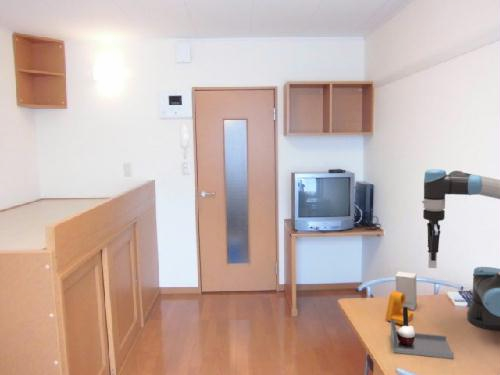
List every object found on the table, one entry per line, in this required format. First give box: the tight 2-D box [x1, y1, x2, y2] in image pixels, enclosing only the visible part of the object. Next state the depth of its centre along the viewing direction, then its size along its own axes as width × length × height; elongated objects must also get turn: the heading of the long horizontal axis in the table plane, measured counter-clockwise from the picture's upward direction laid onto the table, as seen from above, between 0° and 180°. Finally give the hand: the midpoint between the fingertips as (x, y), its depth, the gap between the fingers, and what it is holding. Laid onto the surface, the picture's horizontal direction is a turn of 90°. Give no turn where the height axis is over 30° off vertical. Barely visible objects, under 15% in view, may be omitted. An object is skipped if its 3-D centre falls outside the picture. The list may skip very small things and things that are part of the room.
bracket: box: [385, 290, 414, 326], centre depth 167 cm, size 11×7×12 cm, turn 134°
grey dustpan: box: [390, 319, 455, 360], centre depth 146 cm, size 20×13×7 cm, turn 75°
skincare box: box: [395, 270, 418, 311], centre depth 179 cm, size 8×7×16 cm
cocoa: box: [396, 307, 416, 345], centre depth 147 cm, size 10×6×12 cm, turn 142°
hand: (432, 267), depth 155 cm, fingers closed
